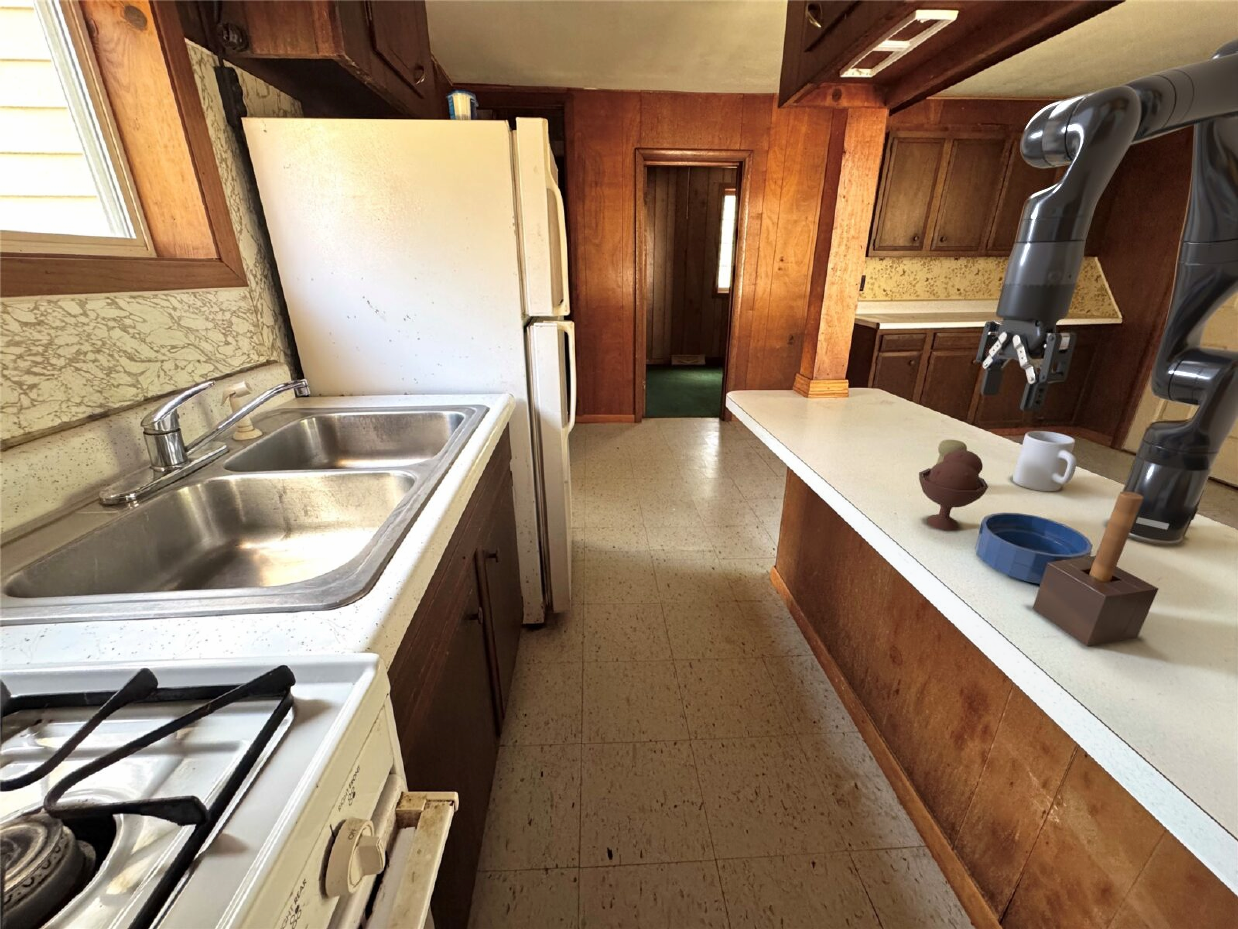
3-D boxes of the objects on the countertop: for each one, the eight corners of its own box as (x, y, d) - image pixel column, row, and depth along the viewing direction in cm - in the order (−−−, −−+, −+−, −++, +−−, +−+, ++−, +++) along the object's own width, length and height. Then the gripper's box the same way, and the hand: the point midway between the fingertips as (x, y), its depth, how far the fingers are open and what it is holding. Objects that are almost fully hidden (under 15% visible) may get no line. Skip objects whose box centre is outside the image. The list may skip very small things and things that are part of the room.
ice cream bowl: (915, 505, 106) (930, 437, 100) (980, 521, 99) (999, 448, 93) (903, 526, 98) (918, 454, 93) (972, 544, 92) (992, 467, 86)
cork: (930, 491, 112) (940, 444, 108) (925, 481, 117) (935, 435, 113) (962, 495, 110) (974, 447, 105) (956, 484, 115) (967, 438, 111)
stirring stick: (1081, 616, 73) (1129, 490, 66) (1097, 626, 71) (1148, 497, 64) (1068, 618, 73) (1114, 492, 65) (1083, 628, 71) (1133, 499, 63)
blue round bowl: (1024, 538, 93) (1032, 508, 91) (1104, 583, 80) (1117, 550, 78) (954, 547, 91) (961, 517, 89) (1025, 595, 78) (1036, 561, 76)
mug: (1003, 476, 118) (1015, 431, 113) (1040, 475, 117) (1054, 430, 113) (1043, 499, 106) (1058, 450, 102) (1084, 498, 106) (1101, 449, 102)
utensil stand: (1078, 601, 76) (1095, 555, 73) (1137, 637, 69) (1159, 588, 66) (1032, 608, 75) (1047, 562, 72) (1086, 646, 68) (1106, 596, 65)
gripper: (1117, 281, 59) (1075, 416, 65) (1030, 276, 72) (1002, 389, 78) (1050, 284, 59) (1014, 418, 65) (975, 278, 72) (951, 390, 78)
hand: (1007, 402), depth 72 cm, fingers open, 8 cm apart
